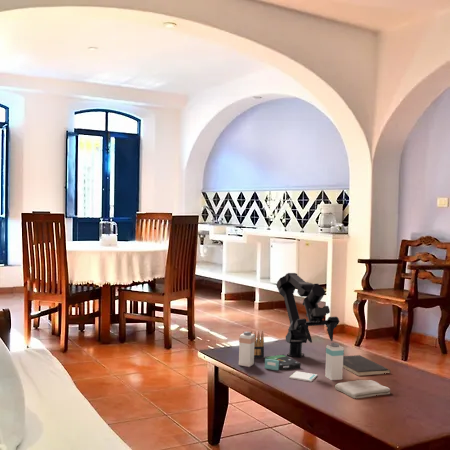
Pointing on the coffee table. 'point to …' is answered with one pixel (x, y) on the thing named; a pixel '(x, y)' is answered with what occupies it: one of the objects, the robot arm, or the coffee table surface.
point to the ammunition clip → (258, 345)
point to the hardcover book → (362, 366)
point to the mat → (303, 376)
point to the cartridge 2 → (334, 361)
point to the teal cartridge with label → (271, 364)
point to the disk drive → (284, 362)
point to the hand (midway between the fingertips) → (321, 341)
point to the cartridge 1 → (246, 349)
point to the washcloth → (362, 388)
